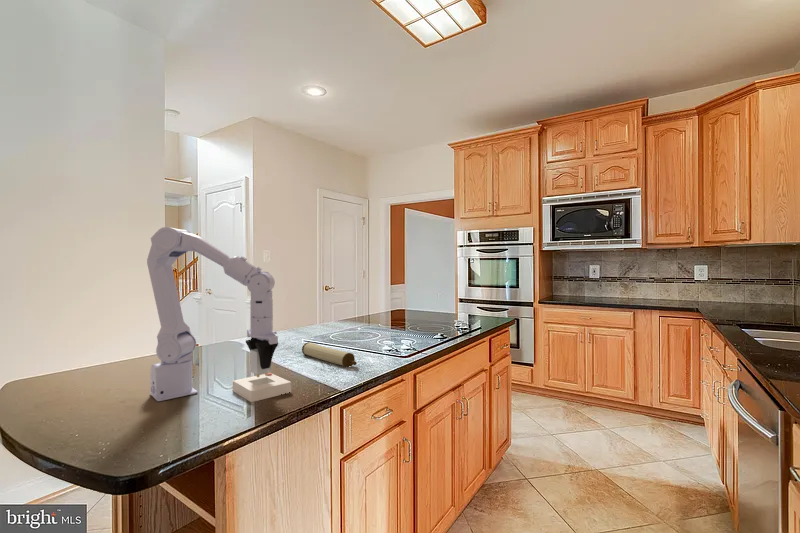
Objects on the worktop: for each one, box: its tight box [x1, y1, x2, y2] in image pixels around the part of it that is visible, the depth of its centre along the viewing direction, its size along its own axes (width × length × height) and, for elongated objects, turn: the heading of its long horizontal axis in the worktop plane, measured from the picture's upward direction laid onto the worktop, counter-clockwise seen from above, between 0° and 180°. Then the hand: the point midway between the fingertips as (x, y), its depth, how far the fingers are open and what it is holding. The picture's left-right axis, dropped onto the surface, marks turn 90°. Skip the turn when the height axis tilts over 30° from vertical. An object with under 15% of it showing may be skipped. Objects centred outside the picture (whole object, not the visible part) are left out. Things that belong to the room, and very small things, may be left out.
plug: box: [249, 349, 272, 377], centre depth 107 cm, size 4×4×8 cm
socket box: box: [232, 372, 292, 403], centre depth 107 cm, size 11×12×3 cm
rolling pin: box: [301, 342, 358, 368], centre depth 141 cm, size 32×6×5 cm, turn 46°
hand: (261, 366), depth 107 cm, fingers closed on plug, 4 cm apart
